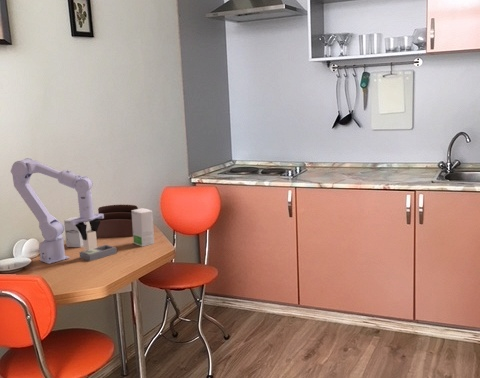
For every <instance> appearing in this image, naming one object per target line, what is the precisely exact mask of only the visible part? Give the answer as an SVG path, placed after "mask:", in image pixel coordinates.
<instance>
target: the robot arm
mask: <svg viewBox="0 0 480 378" xmlns="http://www.w3.org/2000/svg"><path fill="white" fill-rule="evenodd" d="M10 173H11V174H12V182H13V187H14V188H15V190H16V191H17V193H18V194H19V196H20V197H21V198H22V200H23V201H24V203H25V204H26V206H28V208H29V209H30V211H31V213H32V214H33V215H34V217H35V218H36V220H37V221H38V228H39V229H40V231H41V235H42V238H43V239H44V240H43V241H40V242H39V245H38V250H39V257H40V259H39V261H40V262H43V263H45V264H49V265H51V264H53V263H57V262H61V261H64V260H67V259H70V256H68V255H66V252H65V242H64V236H63V233H64V231H65V225H64V223H63V222H61V221H59V220H58V219H57V218H56V216H54V215H52V214H51V213H50V212H49V210H48V209H47V207H46V206H45V205H44V203H43V202H42V200H41V199H40V197H39V196H38V195H37V193H36V192H35V190H34V188H33V187H32V186H31V184H30V180H31V176H32V175H33V174H42V175H44V176H48V177H50V178H53V179H57V181H58V183H59V184H61V185H64V186H66V187H69V188H71V189H74V190H75V192H77V203H78V211H79V216H78V217H79V218H76V219H74V220H70V223H71V225H75V226H76V227H77V228H78V230H79V232H80V234H81V236H82V239H83V240H87V236H86V227H87V228H88V224H87V223H89V226H90V230H91V231H95V232H96V235H97V230H98V227H99V224H100V220H99V219H103V218H104V214H102V213H100V214H99V213H96V214H95V212H94V209H95V208H94V199H93V194H92V193H93V192H92V187H93V184H94V183H93V181H92V179H91V178H90V177H88V176H83V175H82V174H77V173H76V174H75V173H73V172H72V171H71V170H69V169H67V170H65V169H64V170H62V171H61V170H58V169H55V168H53V167H51V166H48V164H45V163H42V162H40V161H38V160H36V159H32V158H28V157H27V158H23V159H21V160H17V161H14V162H13V164H12V165H11V169H10ZM84 222H86V224H87V225H86V224H84Z"/></svg>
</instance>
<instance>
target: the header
mask: <svg viewBox="0 0 480 378" xmlns="http://www.w3.org/2000/svg"><path fill="white" fill-rule="evenodd" d="M117 253H118V250H117V247H116V246H111V245H108V244H104V245H100V246H97V248H95V249H91V250H87V249H84V250H82V251H80V252H79V258H80V259H82V260H86V261H89V262H93V261H96V260H99V259H103V258H105V257H106V258H107V257H109V256H112V255H116V254H117Z"/></svg>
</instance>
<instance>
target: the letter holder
mask: <svg viewBox="0 0 480 378" xmlns="http://www.w3.org/2000/svg"><path fill="white" fill-rule="evenodd" d="M97 209H98V210H97V211H98V213H97V214H100V213H102V214H104V218H103V219H99V220H100V224H99V227H98V230H97V235H96V238H97V239H99V238H121V237H122V238H123V237H124V238H125V237H133V227H132V211H131V210H136V209H139V206H137V205H134V204H112V205H111V204H110V205H105V206H104V205H103V206H100V207H98V208H97Z"/></svg>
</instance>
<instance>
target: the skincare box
mask: <svg viewBox="0 0 480 378" xmlns="http://www.w3.org/2000/svg"><path fill="white" fill-rule="evenodd" d="M131 211H132V227H133V236H132V242H133V244H135V245H136V246H139V247H147V246H150V245H151V246H152V245H154V244H155V234H154V232H155V231H154V215H153V214H154V213H153V210H151V209H148V208H143V207H141V208H138V209H136V210H131Z"/></svg>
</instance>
